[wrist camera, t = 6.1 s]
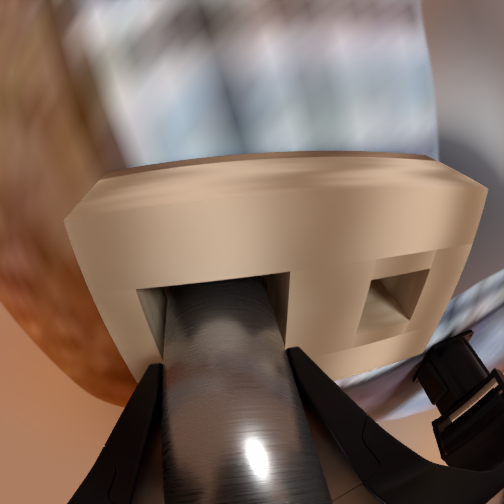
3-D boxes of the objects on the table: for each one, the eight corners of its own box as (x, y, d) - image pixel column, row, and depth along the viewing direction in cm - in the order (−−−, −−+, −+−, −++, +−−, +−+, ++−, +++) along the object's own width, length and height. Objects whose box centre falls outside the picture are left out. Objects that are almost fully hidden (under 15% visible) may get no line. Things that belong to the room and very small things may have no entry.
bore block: (425, 155, 12) (488, 188, 9) (389, 303, 18) (422, 352, 14) (106, 172, 11) (63, 220, 7) (156, 339, 16) (151, 405, 12)
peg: (262, 241, 11) (363, 523, 3) (263, 315, 14) (323, 529, 5) (160, 253, 11) (144, 550, 3) (178, 324, 13) (190, 547, 5)
